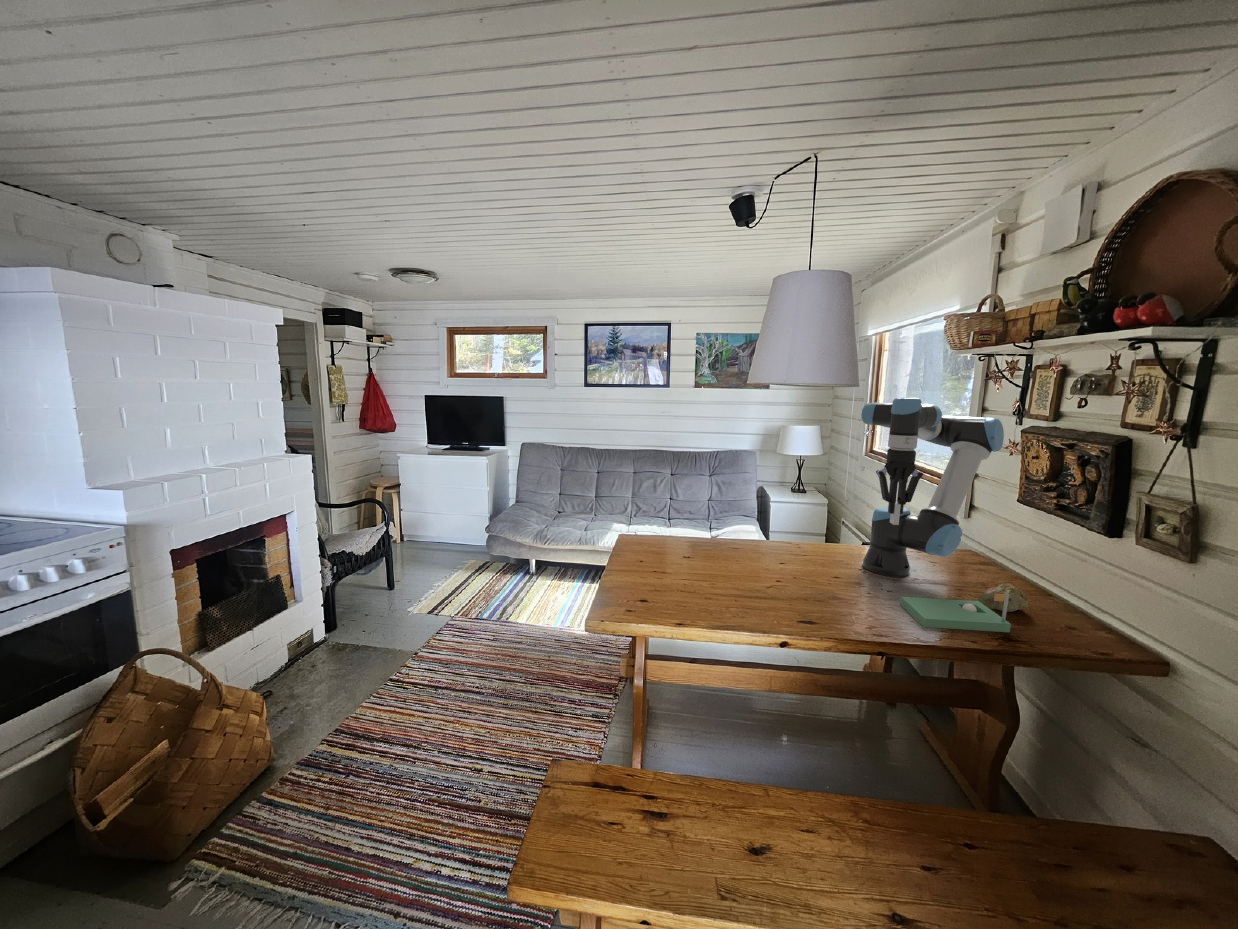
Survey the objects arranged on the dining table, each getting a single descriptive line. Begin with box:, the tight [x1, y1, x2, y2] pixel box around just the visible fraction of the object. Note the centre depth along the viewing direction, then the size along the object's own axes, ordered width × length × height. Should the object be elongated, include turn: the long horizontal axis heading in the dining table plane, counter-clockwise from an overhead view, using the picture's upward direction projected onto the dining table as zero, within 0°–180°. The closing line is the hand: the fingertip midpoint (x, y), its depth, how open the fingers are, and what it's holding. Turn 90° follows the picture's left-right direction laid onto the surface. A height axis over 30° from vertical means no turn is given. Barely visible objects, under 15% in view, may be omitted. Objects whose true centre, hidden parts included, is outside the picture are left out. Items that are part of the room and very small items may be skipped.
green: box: [900, 593, 1012, 633], centre depth 134 cm, size 14×22×10 cm, turn 83°
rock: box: [977, 582, 1031, 613], centre depth 142 cm, size 12×9×10 cm
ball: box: [962, 604, 977, 612], centre depth 136 cm, size 4×4×4 cm
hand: (894, 523), depth 145 cm, fingers closed
